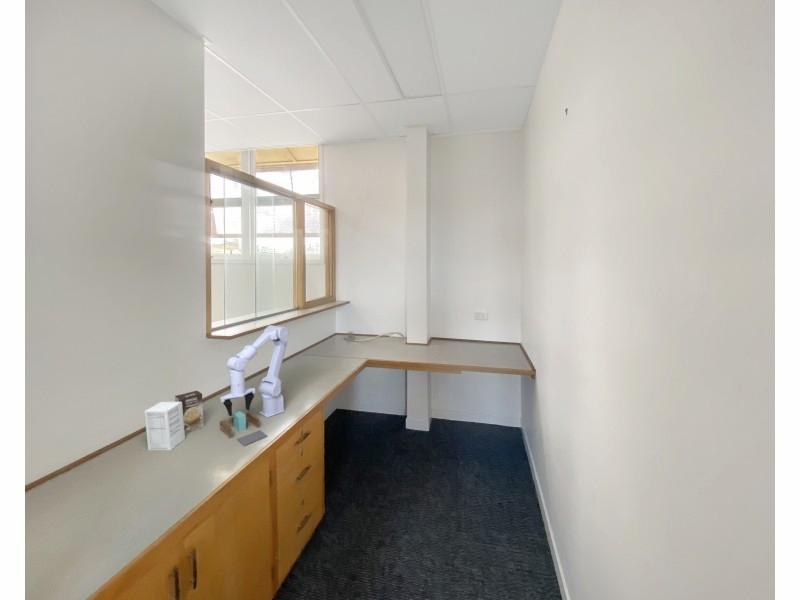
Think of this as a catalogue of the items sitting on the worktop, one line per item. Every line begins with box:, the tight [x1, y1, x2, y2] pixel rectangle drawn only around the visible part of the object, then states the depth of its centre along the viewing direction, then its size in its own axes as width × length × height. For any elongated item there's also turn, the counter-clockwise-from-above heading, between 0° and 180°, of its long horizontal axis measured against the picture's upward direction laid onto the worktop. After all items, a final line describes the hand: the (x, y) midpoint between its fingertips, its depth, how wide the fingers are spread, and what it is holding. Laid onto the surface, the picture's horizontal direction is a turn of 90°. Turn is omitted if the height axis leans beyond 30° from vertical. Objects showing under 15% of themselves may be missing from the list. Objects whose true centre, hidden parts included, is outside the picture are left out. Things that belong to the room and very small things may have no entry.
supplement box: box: [144, 401, 186, 452], centre depth 135 cm, size 10×9×17 cm
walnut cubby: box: [219, 411, 260, 439], centre depth 149 cm, size 13×11×4 cm
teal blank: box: [232, 410, 247, 433], centre depth 149 cm, size 3×6×7 cm, turn 48°
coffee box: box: [174, 390, 205, 434], centre depth 148 cm, size 9×6×16 cm
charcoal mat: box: [236, 429, 268, 447], centre depth 141 cm, size 10×7×1 cm
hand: (239, 412), depth 148 cm, fingers open, 7 cm apart
